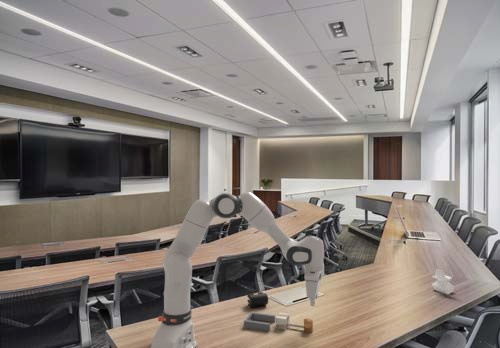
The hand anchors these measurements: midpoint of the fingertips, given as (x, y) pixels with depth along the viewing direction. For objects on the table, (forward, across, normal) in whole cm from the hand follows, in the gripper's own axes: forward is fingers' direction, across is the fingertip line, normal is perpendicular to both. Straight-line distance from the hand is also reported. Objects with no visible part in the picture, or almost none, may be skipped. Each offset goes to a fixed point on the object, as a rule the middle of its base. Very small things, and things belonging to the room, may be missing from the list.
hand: (314, 301), depth 152 cm
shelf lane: (+14, 0, -26) cm, 29 cm away
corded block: (+14, -1, -9) cm, 17 cm away
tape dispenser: (+13, -78, +68) cm, 105 cm away
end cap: (+14, -21, -34) cm, 42 cm away
